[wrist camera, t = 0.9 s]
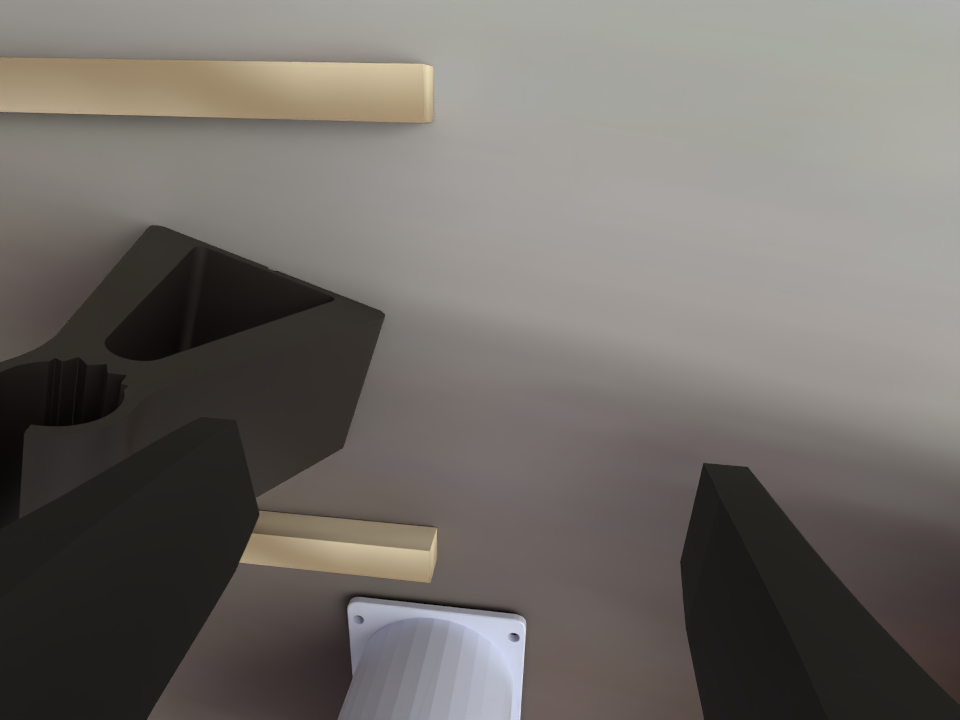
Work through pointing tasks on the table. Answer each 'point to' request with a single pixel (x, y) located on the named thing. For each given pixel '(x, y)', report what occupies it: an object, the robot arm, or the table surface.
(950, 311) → the table surface
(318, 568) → the bar
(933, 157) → the table surface
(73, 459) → the phone stand
